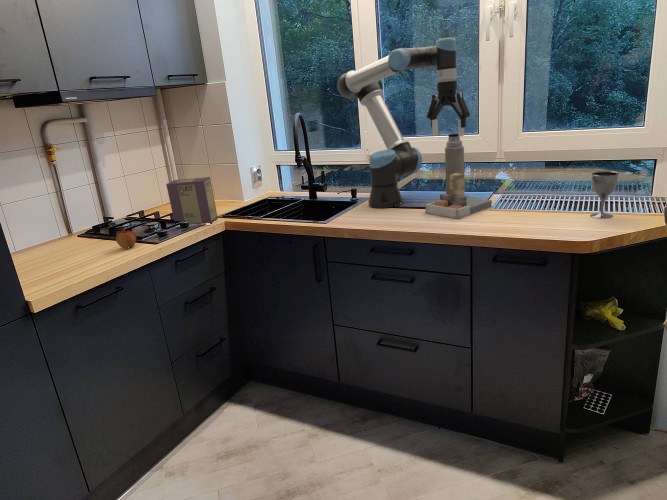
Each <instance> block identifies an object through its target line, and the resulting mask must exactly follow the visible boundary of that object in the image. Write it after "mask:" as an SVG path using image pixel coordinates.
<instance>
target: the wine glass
mask: <svg viewBox="0 0 667 500" xmlns="http://www.w3.org/2000/svg"><path fill="white" fill-rule="evenodd" d="M619 175H620V174H619V172H617V171H613V170H608V171H607V170H602V171H601V170H599V171H593V172H591V186H592V187H591V188H592V190H593V192H594V193H595V194H596V195H597V196H598V198H599V199H600V211H599V212H595V213H591V214H590V215H589V216H590V217H591V218H593V219H594V218H595V219H601V220H602V219H611V218H613V217H614V214H612V213H608V212H606V213H605V212H604V208H605V207H604V206H605V202H606V200H607V198H608V197H609V196H610V195H611V194H612V193H613V192H614V191H615V190H616V188H617V185H618V181H619Z"/></svg>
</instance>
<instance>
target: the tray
mask: <svg viewBox="0 0 667 500" xmlns="http://www.w3.org/2000/svg"><path fill="white" fill-rule="evenodd" d="M424 209H425V214H428V215H429V214H430V215H435V216H439V217H440V216H441V217H445V218H449V219H450V218H451V219H456V220H459V219H462V218H465V217H468V216H470V215H471V214H470V206H469V205H468V206H465V207H462V208H459V209H453V208H447V207H441V206H435V201H432V202H429V203H425V205H424Z"/></svg>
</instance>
